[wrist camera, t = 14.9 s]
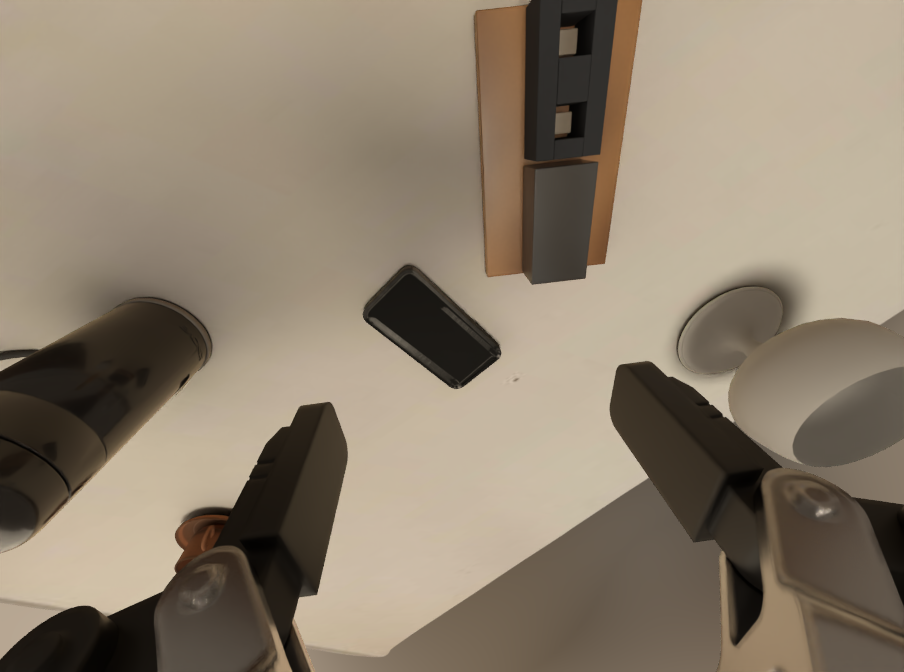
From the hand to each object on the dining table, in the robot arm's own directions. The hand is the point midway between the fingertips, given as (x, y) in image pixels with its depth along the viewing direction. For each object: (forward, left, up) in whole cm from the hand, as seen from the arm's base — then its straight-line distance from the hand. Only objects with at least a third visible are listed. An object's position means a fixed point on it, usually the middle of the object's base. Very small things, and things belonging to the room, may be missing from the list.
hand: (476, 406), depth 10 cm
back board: (+10, +4, -26) cm, 28 cm away
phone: (-2, -12, -26) cm, 29 cm away
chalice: (+33, -17, -26) cm, 45 cm away
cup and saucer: (-40, -44, -26) cm, 65 cm away
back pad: (+10, +9, -25) cm, 28 cm away
